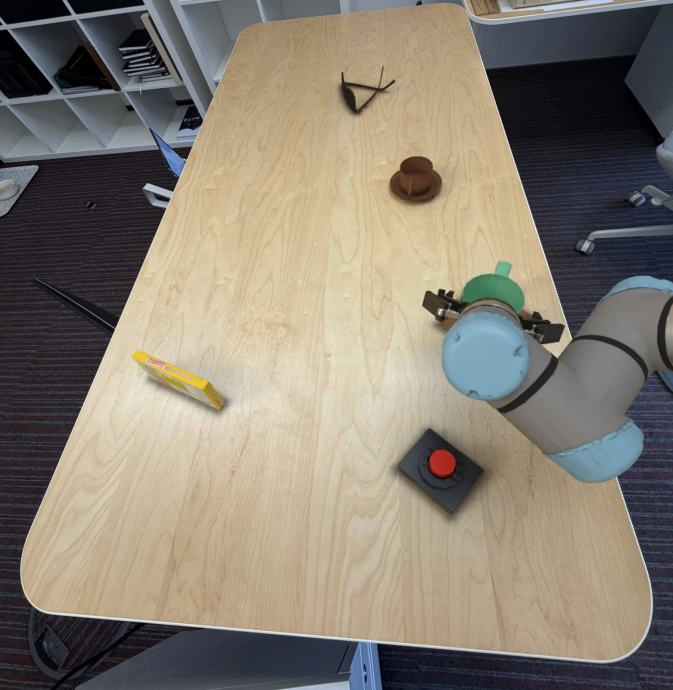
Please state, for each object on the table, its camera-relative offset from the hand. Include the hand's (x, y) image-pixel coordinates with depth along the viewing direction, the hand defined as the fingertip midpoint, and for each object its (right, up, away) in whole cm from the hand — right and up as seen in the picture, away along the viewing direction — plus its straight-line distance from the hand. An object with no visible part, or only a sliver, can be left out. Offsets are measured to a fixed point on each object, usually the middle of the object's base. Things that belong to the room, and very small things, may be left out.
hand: (490, 308), depth 69 cm
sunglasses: (-17, +67, +52) cm, 87 cm away
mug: (+2, -1, +8) cm, 8 cm away
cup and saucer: (-7, +31, +29) cm, 43 cm away
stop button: (-10, -24, -8) cm, 27 cm away
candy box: (-53, -14, +8) cm, 56 cm away
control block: (-10, -26, -5) cm, 28 cm away
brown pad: (+2, -2, +8) cm, 8 cm away
